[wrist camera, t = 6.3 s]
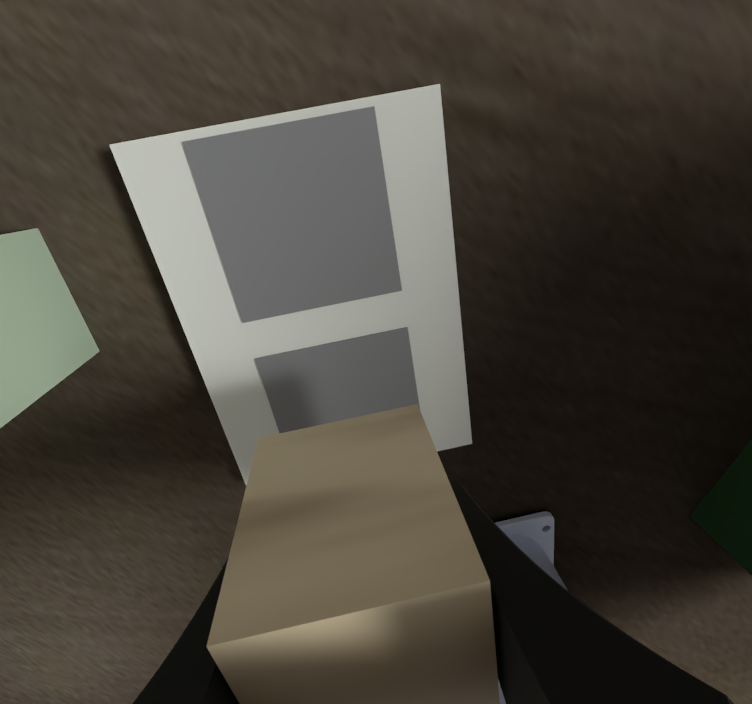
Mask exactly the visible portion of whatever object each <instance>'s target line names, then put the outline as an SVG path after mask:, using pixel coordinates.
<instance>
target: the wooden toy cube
mask: <svg viewBox="0 0 752 704" xmlns="http://www.w3.org/2000/svg"><path fill="white" fill-rule="evenodd" d="M206 647H207V649H208V651H209V652H210V654H211V656H212V657H213V659H214V661H215V662H216V664H217V666H218V668H219V669H220V671H221V673H222V674H223V676H224V678H225V680H226V681H227V683H228V685H229V686H230V688H231V690H232V692H233V693H234V695H235V697H236V698H237V700H238V702H239V704H500V699H499V686H498V674H497V662H496V649H495V637H494V624H493V612H492V600H491V587H490V580H489V577H488V575H487V572H486V570H485V567H484V565H483V562H482V560H481V558H480V555H479V553H478V550H477V548H476V545H475V543H474V541H473V538H472V536H471V533H470V531H469V528H468V526H467V524H466V521H465V519H464V516H463V514H462V511H461V509H460V507H459V504H458V502H457V499H456V497H455V494H454V492H453V489H452V487H451V485H450V482H449V480H448V477H447V475H446V472H445V470H444V468H443V465H442V463H441V460H440V458H439V455H438V453H437V451H436V448H435V446H434V443H433V441H432V438H431V436H430V433H429V431H428V429H427V426H426V424H425V421H424V419H423V416H422V414H421V412H420V409H419V407H418V404H415V405H411V406H406V407H401V408H397V409H392V410H387V411H383V412H378V413H373V414H369V415H364V416H359V417H355V418H350V419H345V420H341V421H336V422H331V423H327V424H322V425H317V426H313V427H308V428H303V429H299V430H294V431H289V432H285V433H280V434H275V435H271V436H266V437H261V438H258V442H257V446H256V450H255V454H254V458H253V462H252V466H251V470H250V474H249V478H248V482H247V486H246V490H245V494H244V498H243V502H242V506H241V510H240V514H239V518H238V522H237V526H236V530H235V534H234V538H233V542H232V546H231V550H230V554H229V558H228V562H227V566H226V570H225V574H224V578H223V582H222V586H221V590H220V594H219V598H218V602H217V606H216V610H215V614H214V618H213V622H212V626H211V630H210V634H209V638H208V642H207V646H206Z"/></svg>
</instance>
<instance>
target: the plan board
mask: <svg viewBox="0 0 752 704" xmlns="http://www.w3.org/2000/svg"><path fill="white" fill-rule="evenodd" d="M109 146H110V148H111V151H112V153H113V156H114V158H115V161H116V163H117V166H118V168H119V171H120V173H121V176H122V178H123V181H124V183H125V185H126V188H127V190H128V193H129V195H130V198H131V200H132V203H133V205H134V208H135V210H136V213H137V215H138V218H139V220H140V223H141V225H142V228H143V230H144V233H145V235H146V238H147V240H148V243H149V245H150V248H151V250H152V253H153V255H154V258H155V260H156V263H157V265H158V268H159V270H160V273H161V275H162V278H163V280H164V283H165V285H166V288H167V290H168V293H169V295H170V298H171V300H172V303H173V305H174V308H175V310H176V312H177V315H178V317H179V320H180V322H181V325H182V327H183V330H184V332H185V335H186V337H187V340H188V342H189V345H190V347H191V350H192V352H193V355H194V357H195V360H196V362H197V365H198V367H199V370H200V372H201V375H202V377H203V380H204V382H205V385H206V387H207V390H208V392H209V395H210V397H211V400H212V402H213V405H214V407H215V410H216V412H217V415H218V417H219V420H220V422H221V425H222V427H223V430H224V432H225V435H226V437H227V440H228V442H229V444H230V447H231V449H232V452H233V454H234V457H235V459H236V462H237V464H238V467H239V469H240V472H241V474H242V477H243V479H244V482H245V484H246V486H247V482H248V478H249V474H250V470H251V466H252V462H253V458H254V454H255V450H256V446H257V442H258V438H261V437H266V436H271V435H275V434H280V433H285V432H289V431H294V430H299V429H303V428H308V427H313V426H317V425H322V424H327V423H331V422H336V421H341V420H345V419H350V418H355V417H359V416H364V415H369V414H373V413H378V412H383V411H387V410H392V409H397V408H401V407H406V406H411V405H415V404H418V407H419V409H420V412H421V414H422V416H423V419H424V421H425V424H426V426H427V429H428V431H429V433H430V436H431V438H432V441H433V443H434V446H435V448H436V451H442V450H446V449H451V448H455V447H460V446H465V445H469V444H472V435H471V424H470V413H469V402H468V390H467V379H466V368H465V357H464V346H463V335H462V324H461V312H460V301H459V290H458V279H457V268H456V257H455V246H454V235H453V223H452V212H451V201H450V190H449V179H448V168H447V157H446V145H445V134H444V123H443V112H442V101H441V90H440V84H436V85H431V86H425V87H420V88H415V89H409V90H404V91H398V92H393V93H387V94H382V95H377V96H371V97H366V98H360V99H355V100H349V101H344V102H338V103H333V104H328V105H322V106H317V107H311V108H306V109H300V110H295V111H290V112H284V113H279V114H273V115H268V116H262V117H257V118H252V119H246V120H241V121H235V122H230V123H224V124H219V125H214V126H208V127H203V128H197V129H192V130H186V131H181V132H176V133H170V134H165V135H159V136H154V137H148V138H143V139H137V140H132V141H127V142H121V143H116V144H110V145H109Z"/></svg>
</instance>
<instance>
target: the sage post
mask: <svg viewBox="0 0 752 704" xmlns="http://www.w3.org/2000/svg"><path fill="white" fill-rule="evenodd" d="M98 352H99V349H98V347H97V345H96V343H95V341H94V339H93V337H92V335H91V333H90V331H89V329H88V327H87V325H86V323H85V321H84V319H83V317H82V315H81V313H80V311H79V309H78V307H77V305H76V303H75V301H74V299H73V297H72V295H71V293H70V291H69V289H68V287H67V285H66V283H65V281H64V279H63V277H62V275H61V273H60V272H59V270H58V268H57V266H56V264H55V262H54V260H53V258H52V256H51V254H50V252H49V250H48V248H47V246H46V244H45V242H44V240H43V238H42V236H41V234H40V232H39V230H38V228H36V229H30V230H24V231H19V232H13V233H8V234H2V235H0V428H1V427H3V426H4V425H5V424H7V423H8V422H9V421H10V420H12V419H13V418H14V417H16V416H17V415H18V414H19V413H21V412H22V411H23V410H25V409H26V408H27V407H28V406H30V405H31V404H32V403H34V402H35V401H36V400H37V399H39V398H40V397H41V396H43V395H44V394H45V393H46V392H48V391H49V390H50V389H52V388H53V387H54V386H56V385H57V384H58V383H59V382H61V381H62V380H63V379H65V378H66V377H67V376H68V375H70V374H71V373H72V372H74V371H75V370H76V369H77V368H79V367H80V366H81V365H83V364H84V363H85V362H86V361H88V360H89V359H90V358H92V357H93V356H94V355H95V354H97V353H98Z"/></svg>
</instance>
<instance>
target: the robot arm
mask: <svg viewBox="0 0 752 704" xmlns="http://www.w3.org/2000/svg"><path fill="white" fill-rule="evenodd" d="M450 485H451V487H452V489H453V492H454V494H455V497H456V499H457V502H458V504H459V507H460V509H461V511H462V514H463V516H464V519H465V521H466V524H467V526H468V528H469V531H470V533H471V536H472V538H473V541H474V543H475V545H476V548H477V550H478V553H479V555H480V558H481V560H482V562H483V565H484V567H485V570H486V572H487V575H488V577H489V580H490V587H491V600H492V612H493V624H494V637H495V649H496V662H497V674H498V686H499V699H500V704H734V703H733V702H732V701H731V700H730V699H729V698H728V697H727V696H726V695H725V694H723V693H721V692H720V691H718V690H716V689H714V688H713V687H711V686H709V685H707V684H706V683H704V682H702V681H701V680H699V679H697V678H695V677H694V676H692V675H690V674H689V673H687V672H685V671H684V670H682V669H680V668H679V667H677V666H676V665H674V664H672V663H671V662H669V661H667V660H666V659H664V658H663V657H661V656H660V655H658V654H656V653H655V652H653V651H652V650H650V649H649V648H647V647H646V646H644V645H642V644H641V643H639V642H638V641H636V640H635V639H633V638H632V637H630V636H629V635H628V634H626V633H625V632H623V631H622V630H620V629H619V628H618V627H616V626H615V625H613V624H612V623H611V622H609V621H608V620H606V619H605V618H603V617H602V616H601V615H599V614H598V613H596V612H595V611H593V610H592V609H591V608H589V607H588V606H587V605H586V604H584V603H583V602H582V601H580V600H579V599H578V598H577V597H575V596H574V595H573V594H571V593H570V592H569V591H568V590H567V588H566V586H565V585H564V583H563V581H562V580H561V578H560V576H559V575H558V573H557V571H556V569H555V568H554V517H553V516H552V514H551V513H550V512H547V511H544V512H539V513H535V514H530V515H526V516H521V517H517V518H513V519H508V520H504V521H499V522H495V523H494V522H493V521H492V520H491V518H490V517H489V516H488V515H487V514H486V513H485V512H484V511H483V509H482V508H481V507H480V506H479V505H478V504H477V502H476V501H475V500H474V499H473V497H472V496H471V495H470V494H469V492H468V491H467V490H466V488H465V487H464V486H463V484H462V483H460V482H454V483H450ZM228 558H229V557H228ZM227 562H228V559H227V561H226V563H225V564H224V566H223V568H222V570H221V571H220V573H219V575H218V577H217V578H216V580H215V582H214V584H213V585H212V587H211V589H210V590H209V592H208V594H207V595H206V597H205V599H204V600H203V602H202V604H201V606H200V607H199V609H198V610H197V612H196V614H195V615H194V617H193V618H192V620H191V621H190V623H189V624H188V626H187V628H186V629H185V631H184V632H183V634H182V635H181V637H180V638H179V640H178V642H177V643H176V645H175V646H174V647H173V649H172V650H171V652H170V653H169V655H168V656H167V658H166V659H165V661H164V662H163V663H162V665H161V666H160V668H159V669H158V670H157V672H156V673H155V674H154V676H153V677H152V679H151V680H150V681H149V683H148V684H147V685H146V687H145V688H144V689H143V691H142V692H141V693H140V695H139V696H138V697H137V699H136V700H135V701H134V702H133V704H239V702H238V700H237V698H236V697H235V695H234V693H233V692H232V690H231V688H230V686H229V685H228V683H227V681H226V680H225V678H224V676H223V674H222V673H221V671H220V669H219V668H218V666H217V664H216V662H215V661H214V659H213V657H212V656H211V654H210V652H209V651H208V649H207V647H206V646H207V642H208V638H209V634H210V630H211V626H212V622H213V618H214V614H215V610H216V606H217V602H218V598H219V594H220V590H221V586H222V582H223V578H224V574H225V570H226V566H227Z"/></svg>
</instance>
